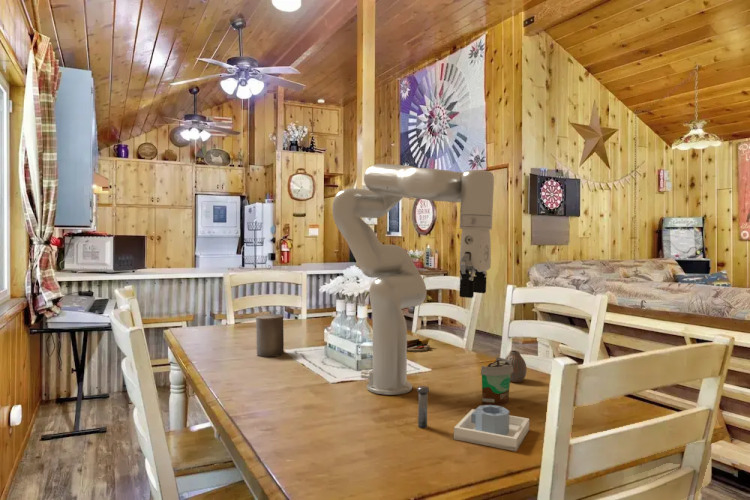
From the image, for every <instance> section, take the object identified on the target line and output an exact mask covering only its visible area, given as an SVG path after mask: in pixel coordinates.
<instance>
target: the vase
mask: <svg viewBox="0 0 750 500" xmlns="http://www.w3.org/2000/svg"><path fill="white" fill-rule="evenodd" d="M505 359H507V360H509V361H510V362H511V364H512V366H513V372H512V373H511V375H510V383H521V382H522V381H523V380H524V379H526V375H527V372H528V371H527V368H528V367H527V363H526V361H525V359H524V357H523V356H521V353H520V352H519V350H510V352H509V353H508V355H507V356H506V357H505Z"/></svg>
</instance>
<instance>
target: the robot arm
mask: <svg viewBox="0 0 750 500" xmlns="http://www.w3.org/2000/svg"><path fill="white" fill-rule="evenodd" d="M363 182H364V185H365V186H366V188H367V189H364V188H347V189H346V188H345V189H342V190H339V192H337V193H336V195H335V196H334V199H333V202H332V217H333V221H334V224H335V226H336V228H337V230H338V231H339V233H340V234H341V235H342V237H343V239H344V240H345V241H346V244H347V245H348V247H349V250H350V251H351V253H352V255H353V257H354V259H355V261H356V262H357V263H356V264H357V265H358V267H359V268H360V270H361V272H362V273H363V275H364V276H366V277H367V278H372V279H374V278H376V279H374V280H373V281H372V283H371V284H370V287H369V292H368V295H369V296H368V297H369V302H370V308H371V315H372V317H371V318H372V370H368V369H362V370H361V373H360V378H361V379H367V380H368V382H367V384H366V388H367V390H368V391H369V392H371V393H373V394H378V395H386V396H394V395H395V396H396V395H402V394H407V393H409V392H411V391H412V390H413V384H412V383H411V382H410V381H408V380H407V378H408V377H407V375H408V373H407V371H408V370H407V366H408V364H407V363H408V359H407V358H408V353H407V352H408V351H407V334H408V332H407V331H408V326H407V325H408V324H407V320H406V318H405V316H404V313H403V312H402V309H407V308H415V307H418V306H419V305H421V304H423V303H424V301H425V300H426V297H427V286H426V283H425V280H424V279H423V277H422V275H421V273H420V272H419V269H418V268H417V266H416V265H415V263H414V261H413V260H412V257H411V256H410V254H409V253H408V252H407V251H406V250H405V249H404V248H403V247H401V246H399V245H397V244H385V243H384V244H383V243H382V242H381V241H380V240H379V238H378V237H377V235H376V233H375V231H374V229H373V228H372V227H371V226H370V225H369V224H368V223H366V222H365V221H364V220H363V219H365V218H369V219H379V218H382V217H384V216H386V215H387V214H388V213H389V212H390V211H391V210H392V209H393V208H394V207H395V206H396V205H397V204H398V203H399V202H401V200H402V199H403V198H405V199H411V198H412V199H417V200H418V199H421V200H427V201H434V202H445V203H446V202H449V203H460V212H459V229H461V238H460V247H459V248H460V251H459V269H460V270H459V297H460V298H467V299H472V298H474V296H475V295H474V294H476V293H477V294H486V292H487V275H488V272H487V271H489V270H490V269H491V267H492V266H491V264H492V263H491V261H492V259H491V258H492V257H491V255H492V254H491V252H492V251H491V250H492V248H491V247H492V246H491V230H493V211H494V209H493V208H494V207H493V206H494V191H495V189H494V186H495V185H494V183H495V176H494V174H493V172H492V171H489V170H484V169H471V170H466V171H464V172H462V171H461V172H459V171H454V170H446V169H437V168H428V167H427V168H426V167H425V168H424V167H415V166H413V165H403V164H402V165H401V164H390V163H389V164H388V163H376V164H373V165H371V166H370V167H368V168H367V169H366V170H365V172H364V174H363ZM362 218H363V219H362Z"/></svg>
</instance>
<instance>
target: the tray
mask: <svg viewBox="0 0 750 500" xmlns="http://www.w3.org/2000/svg"><path fill="white" fill-rule="evenodd" d="M473 412H476V408H475V409H474V408H471V410H470V411H469V412H468V413H467V414H466V415H465V416H464V417H463V418H461V420H460V421H459V422H458V423H457V424H456V425H455V426H454V427H453V440H456V441H462V442H465V443H466V442H467V443H471V444H477V445H480V446H481V445H482V446H487V447H491V448H497V449H502V450H506V451H512V452H517V451H518V450H519V448H520V446H521V444H522V443H523V441H524V439H525V437H526V435H527V434H528V432H529V430H530V418H528V417H522V416H515V415H510V414H509V432H508V434H507V435H506V436H505V435H500V434H494V433H489V432H484V431H478V430H475V423H471V414H472V413H473Z"/></svg>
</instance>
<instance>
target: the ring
mask: <svg viewBox="0 0 750 500" xmlns="http://www.w3.org/2000/svg"><path fill="white" fill-rule="evenodd" d="M475 410H476V412H473V413H472V414H471V423H475V430H478V431H484V432H489V433H494V434H500V435H505V436H506V435H507V434H508V432H509V415H510V409H509V410H508V409H507V408H506V407H504V406H502V405H484V404H483V405H478V407H476V408H475Z"/></svg>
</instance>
